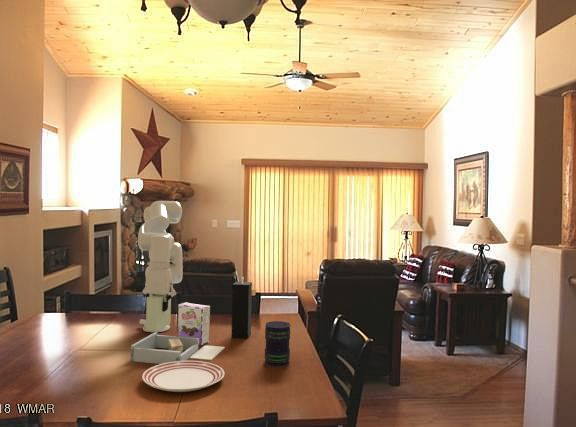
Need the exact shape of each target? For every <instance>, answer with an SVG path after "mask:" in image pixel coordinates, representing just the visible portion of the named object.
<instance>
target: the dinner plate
mask: <svg viewBox="0 0 576 427" xmlns="http://www.w3.org/2000/svg"><path fill="white" fill-rule="evenodd" d="M224 376H225V371H224V368H222V367H221V366H219V365H218V364H214V363H211V362H208V361H200V360H186V361H174V362H168V363H163V364H156V365H154V366H151V367H149V368H148V369H146V370H145V371H144V372H143V373H142V376H141V379H142V381H143V382H144V383H145V384H147V385H148V386H149V387H151V388H154V389H156V390H157V389H158V390H161V391H166V392H172V393H187V392H188V393H189V392H195V391H199V390H201V389H205V388H208V387H210V386H212V385H215V384H217V383H218V382H220V381H221V380H222V379H224Z"/></svg>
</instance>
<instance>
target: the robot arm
mask: <svg viewBox="0 0 576 427" xmlns="http://www.w3.org/2000/svg"><path fill="white" fill-rule="evenodd" d="M182 214H183V208H182V204H181V203H180V202H179V201H175V200H173V201H172V200H157V201H153V202H152V203H151V204H150V206H147V207H145V208H144V210H143V218H144V223H142V224H141V226H140V227H139V230H138V234H137V235H138V236H137V237H138V238H137V245H138V248H139V250H141V251H144V252H145V251H146V252H148V258H149V261H148V262H147V263H146V264H147V267H146V268H145V273H144V274H145V285H144V286H145V287H144V288H143V290H142V294H144V295H145V296H146V299H147V298H148V297H150V296H152V295H155V294H158V295H163V299H164V302H163V305H162V311H163V312H165V311H166V310H167V309H168V300H170V299H171V300H172V298H173V297H174V296H176V295H177V292H176V290H175V289H174V286H173V285H174V284H179V283H181V282H182V280H183V269H184V267H183V247H182V244H180V243H179V242H176V241H175V238H174V236H173V235H172V234H171V233H169V232H167V231H166V230H167V228H168V227H169V226H170V225H171V224H178V223H180V222H181V218H182V217H183V215H182ZM169 293H171V294H170V295H169ZM139 325H143V327H142V330H143V332H146V333H155V332H154V331H146V319H142V318H141V319H139ZM170 329H171V325H170V324H168V325H167V326H165V327H164V328H162V329H160V330H159V331H157V333H161V332H166V331H168V330H170Z"/></svg>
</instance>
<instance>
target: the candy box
mask: <svg viewBox="0 0 576 427" xmlns="http://www.w3.org/2000/svg"><path fill="white" fill-rule="evenodd" d="M210 313H211V306H210V305H204V304H196V303H190V302H187V301H185V302H181V303H180V304H177V336H178V337H190V338H199V346H205V345H207V344H209V343H210V321H211V320H210V316H211V315H210Z"/></svg>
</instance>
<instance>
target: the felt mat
mask: <svg viewBox="0 0 576 427" xmlns="http://www.w3.org/2000/svg"><path fill="white" fill-rule="evenodd" d="M224 349H225V346H216V345H207V344H204V345H202V347H201V348H199V350H198V351H197V352H196V353H195V354H193V355H192V356H191V357H190V358H189V359H192V360H203V361H212V360H214V359H215V358H216V357H217V356H218V355H219V354H220V353H221V352H222V351H223V350H224Z"/></svg>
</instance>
